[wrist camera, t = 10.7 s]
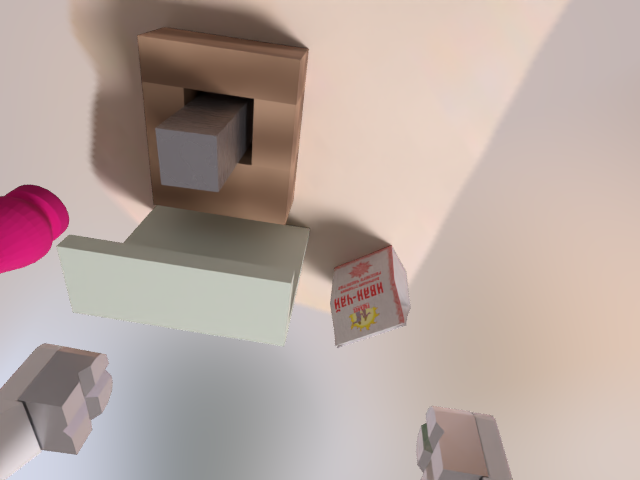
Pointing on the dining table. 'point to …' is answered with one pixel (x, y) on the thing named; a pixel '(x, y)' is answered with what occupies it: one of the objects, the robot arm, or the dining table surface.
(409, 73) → the dining table surface
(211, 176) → the peg
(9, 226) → the pepper mill
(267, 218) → the socket
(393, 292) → the tea bag
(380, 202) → the dining table surface
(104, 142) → the dining table surface
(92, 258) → the pale green stepped block
